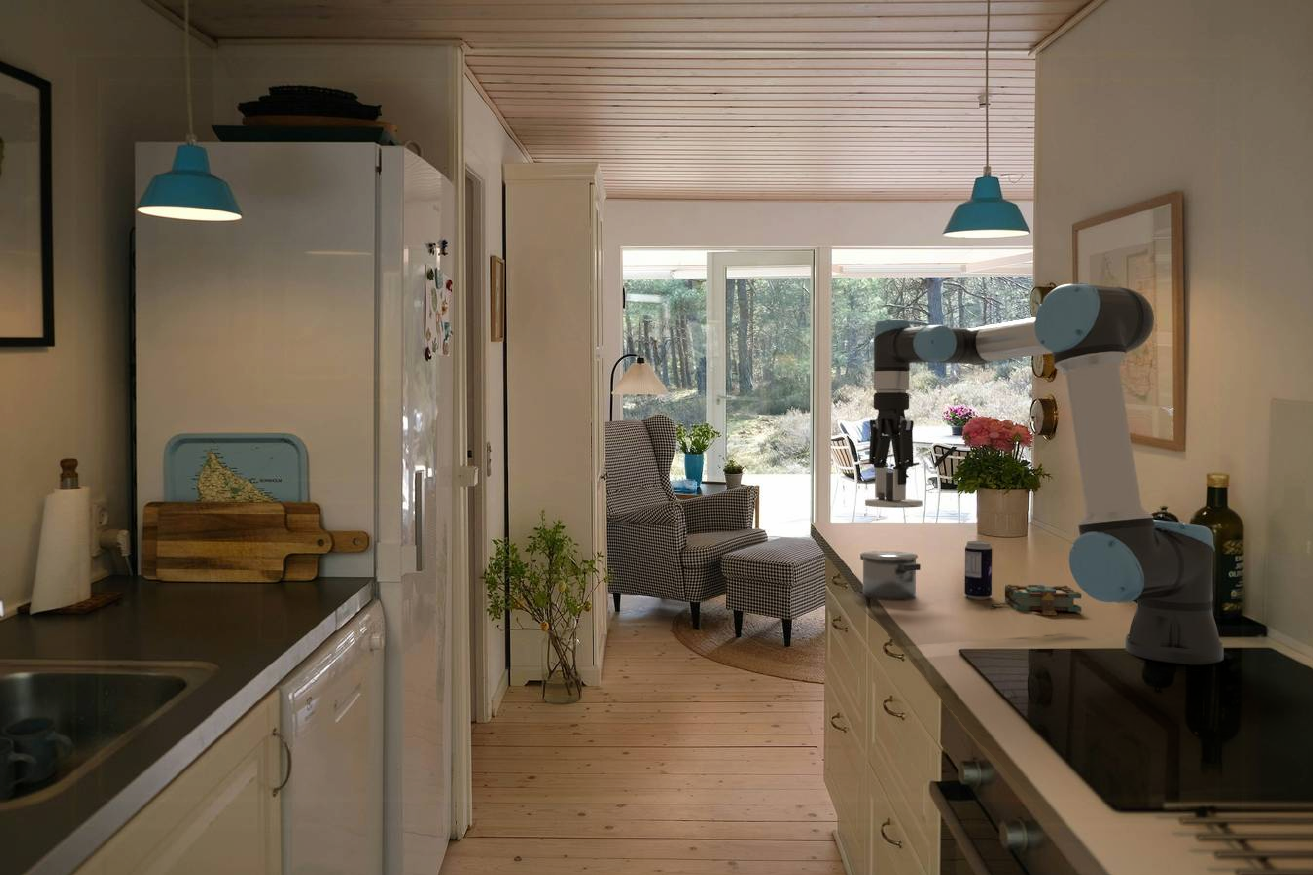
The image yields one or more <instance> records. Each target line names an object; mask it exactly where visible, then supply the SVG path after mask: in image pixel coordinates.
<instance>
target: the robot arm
mask: <svg viewBox="0 0 1313 875" xmlns="http://www.w3.org/2000/svg"><path fill="white" fill-rule="evenodd" d="M874 325H875V326H874V334H873V390H874V391H876V392H874V394H873V409H874V410H876V411H878V414H877V418H875V419H870V420H869V427H870V434H869V436H870V439H869V452H868V462H869V464H870V465H873V467H874V468H875V469H874V480H875V481H874V482H875V485H874V487H875V488H874V489H875V490H874V491H875V494H874V495H875V496H874V497H875V498H874V499H879V493H885V498H886V472H889V464H887V461H888V457H889V456H888V455H889V452H890V445H891V447H892V448H891V449H892V452H893V460H894V466H893V467H892V472H893V500H906V499H907V488H906V487H907V472H908V471H907V470H908V469H909V468H913V467H914V443H913V442H914V437H913V430H914V424H915V421H914V420H913V419H907V418H906V413H905V411H908V410H909V409H910V394H909V392H907V391H909V390H910V371H911V370H910V369H911V366H910V364H913V363H914V364H918V363H919V364H920V363H922V364H923V363H928V364H929V363H932V364H933V363H934V364H938V363H939V364H962V365H963V364H965V365H966V364H967V365H974V366H982V365H988V364H991V363H993V362H994V361H995V362H996V361H1003V360H1009V359H1018V358H1024V357H1025V358H1026V357H1034V356H1042V355H1050V354H1051V355H1052V358H1053V364H1054V368H1055V369H1056V370H1058V371H1059V372H1060V373H1061V374H1063V375H1064V376H1065V380H1066V387H1067V394H1068V401H1069V408H1070V414H1071V420H1072V427H1073V434H1074V442H1075V447H1076V454H1077V462H1078V466H1079V474H1080V479H1081V487H1082V494H1083V500H1084V508H1085V514H1084V515H1083V517H1082V518H1081V519H1080V521H1079V522H1078V523H1077V524H1078V532H1079V536H1078V537H1077V538H1076V539H1075V541H1073V543H1072V547H1071V548H1070V549H1069V553H1068V566H1069V570H1070V572H1071V575H1072V578H1073V580H1074V581H1075V583H1076V584H1077V586H1078V587H1079V588H1080V589H1081V590H1082V591H1083V592H1085V594H1087V595H1088V596H1089V597H1091V598H1092V599H1094V600H1097V601H1100V602H1103V603H1118V604H1119V603H1124V604H1125V603H1131V602H1133V601H1136V600H1137V602H1136V609H1135V612H1134V616H1133V618H1132V621H1131V625H1130V628H1129V631H1128V633H1127V634H1126V636H1125V651H1126V652H1127V653H1129V654H1130V655H1132V656H1135V657H1138V658H1142V659H1146V660H1150V661H1156V662H1161V663H1169V664H1177V665H1178V664H1181V665H1212V664H1217V663H1221V662H1222V661H1224V645H1223V642H1222V641H1221V640H1220V636H1219V633H1218V629H1217V628H1218V627H1217V625H1216V621H1215V619H1214V615H1213V595H1214V594H1213V591H1214V589H1213V588H1214V552H1215V550H1216V549H1215V546H1214V535H1213V532H1212V530H1211V529H1210V528H1209V527H1208V526H1206V525H1201V524H1200V525H1199V524H1193V523H1184V522H1177V521H1176V522H1175V521H1165V520H1155V519H1154V516H1153V515H1152V514H1151V513H1149V512H1148V511H1147V510H1146V509H1144V508H1143V506H1142V502H1141V495H1140V490H1139V483H1138V476H1137V470H1136V463H1135V456H1134V452H1133V445H1132V440H1131V439H1132V438H1131V433H1130V432H1131V431H1130V427H1129V420H1128V414H1127V408H1126V401H1125V395H1124V388H1123V383H1122V377H1121V369H1120V368H1121V365H1122V364H1123V363H1124V361H1125V360H1126V359H1127V357H1128V353H1129V352H1131V351H1134V350H1136V349H1138V348H1139V347H1141V346H1142V345H1144V343H1145V342H1146V341H1147V340H1148V339H1149V337H1150V336H1151V333H1152V332H1153V330H1154V325H1155V315H1154V309H1153V308H1152V305H1151V303H1150V302H1149V300H1148V299H1147V298H1146V297H1145V296H1144V295H1143V294H1141V293H1139V292H1137V291H1136V290H1134V289H1132V288H1127V287H1119V286H1116V287H1115V286H1106V285H1095V284H1090V283H1087V282H1079V283H1066V284H1062V285H1059V286H1057V287H1055V288H1054V289H1052V290H1051V291H1050V292H1049V293H1047V294H1046V295H1045V296H1044V297H1043V299H1042V302H1041V304H1039V306H1038V307H1037V310H1036V312H1035V316H1034V317H1029V318H1023V319H1017V320H1012V321H1006V322H999V323H995V324H994V323H993V324H989V325H984V326H981V325H980V326H977V327H970V328H969V327H965V328H964V327H951V326H947V325H945V324H932V323H931V324H926V325H921V326H913V327H912V326H911V322H910V320H908V319H906V318H905V319H903V318H890V319H880V320H878V321H876V323H875V324H874Z"/></svg>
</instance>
